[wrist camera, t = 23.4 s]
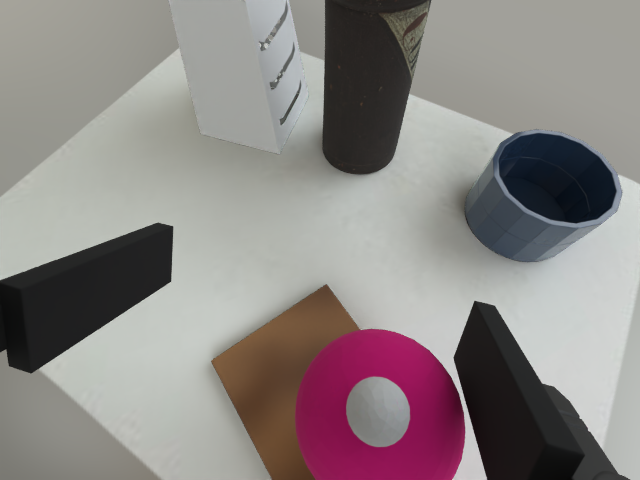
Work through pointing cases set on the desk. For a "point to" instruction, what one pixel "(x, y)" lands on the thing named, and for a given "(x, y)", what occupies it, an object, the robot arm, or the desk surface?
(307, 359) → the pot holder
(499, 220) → the pot
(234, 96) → the grater
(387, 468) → the pepper mill
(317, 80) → the desk surface
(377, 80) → the container
